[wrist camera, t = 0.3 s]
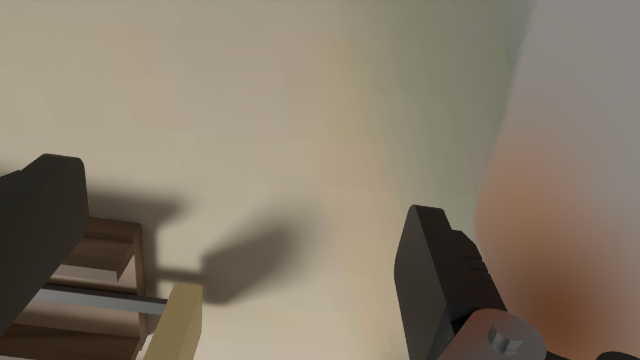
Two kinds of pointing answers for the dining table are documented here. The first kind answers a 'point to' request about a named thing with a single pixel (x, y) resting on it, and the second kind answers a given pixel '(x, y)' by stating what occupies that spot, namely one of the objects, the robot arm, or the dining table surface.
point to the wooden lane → (86, 321)
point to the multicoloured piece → (176, 313)
